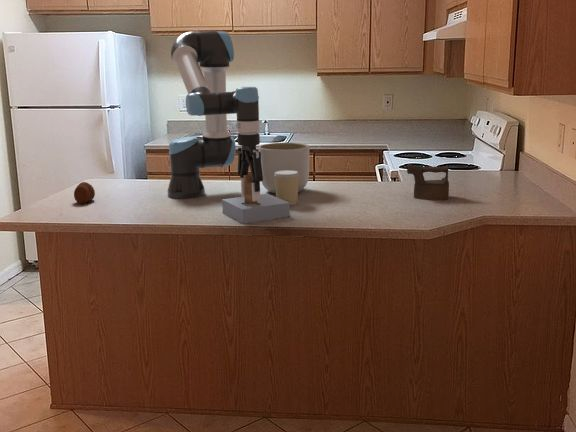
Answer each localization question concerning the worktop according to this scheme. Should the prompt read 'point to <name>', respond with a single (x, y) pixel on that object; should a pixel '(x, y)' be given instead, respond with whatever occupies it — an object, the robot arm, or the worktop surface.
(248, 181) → the peg
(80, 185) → the potato
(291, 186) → the coffee cup
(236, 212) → the board
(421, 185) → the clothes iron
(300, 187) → the planter
